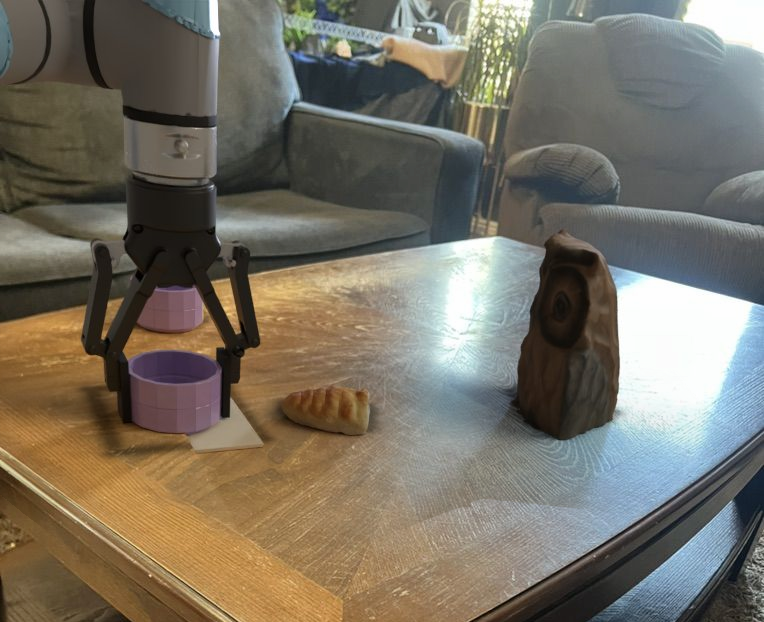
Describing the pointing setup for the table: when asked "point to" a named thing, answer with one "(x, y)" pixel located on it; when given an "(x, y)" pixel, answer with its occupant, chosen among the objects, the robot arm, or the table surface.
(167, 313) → the far dish
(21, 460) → the table surface
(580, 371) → the owl
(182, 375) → the near dish
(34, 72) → the robot arm
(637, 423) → the table surface
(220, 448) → the place mat
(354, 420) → the pastry
